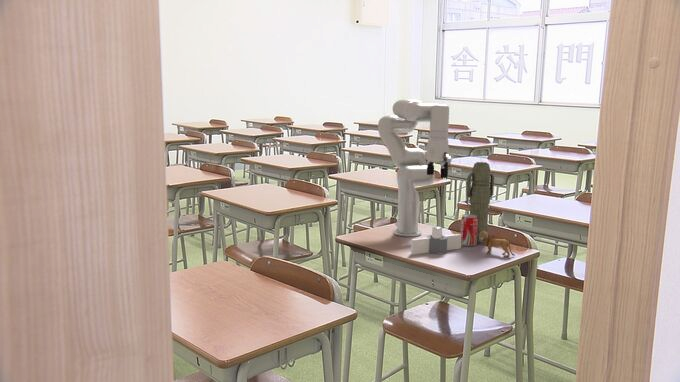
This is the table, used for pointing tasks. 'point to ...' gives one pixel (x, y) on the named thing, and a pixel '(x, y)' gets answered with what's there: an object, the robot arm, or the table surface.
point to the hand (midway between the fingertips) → (437, 176)
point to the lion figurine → (494, 243)
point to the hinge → (435, 244)
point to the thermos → (480, 194)
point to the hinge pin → (437, 232)
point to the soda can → (469, 230)
